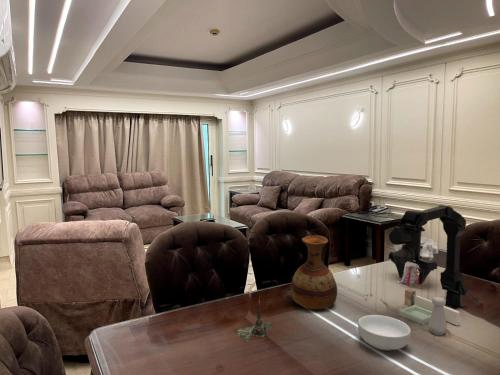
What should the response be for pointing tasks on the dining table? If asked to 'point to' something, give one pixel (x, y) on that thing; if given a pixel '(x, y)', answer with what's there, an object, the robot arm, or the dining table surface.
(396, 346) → the cereal bowl
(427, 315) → the tray
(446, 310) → the gate
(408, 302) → the gate post
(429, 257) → the white irregular sculpture
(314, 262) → the brown ceramic vase
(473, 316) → the dining table surface
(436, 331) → the salt shaker
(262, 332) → the eiffel tower figurine
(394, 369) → the dining table surface
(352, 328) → the dining table surface
